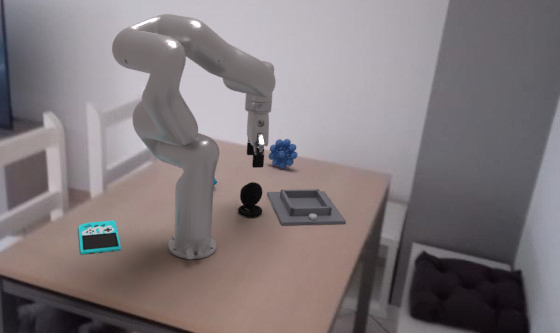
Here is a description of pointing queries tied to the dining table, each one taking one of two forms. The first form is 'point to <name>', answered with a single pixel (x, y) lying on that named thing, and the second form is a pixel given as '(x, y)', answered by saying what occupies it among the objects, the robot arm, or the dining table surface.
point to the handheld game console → (98, 237)
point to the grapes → (283, 153)
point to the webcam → (250, 200)
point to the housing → (304, 207)
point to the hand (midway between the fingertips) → (254, 160)
